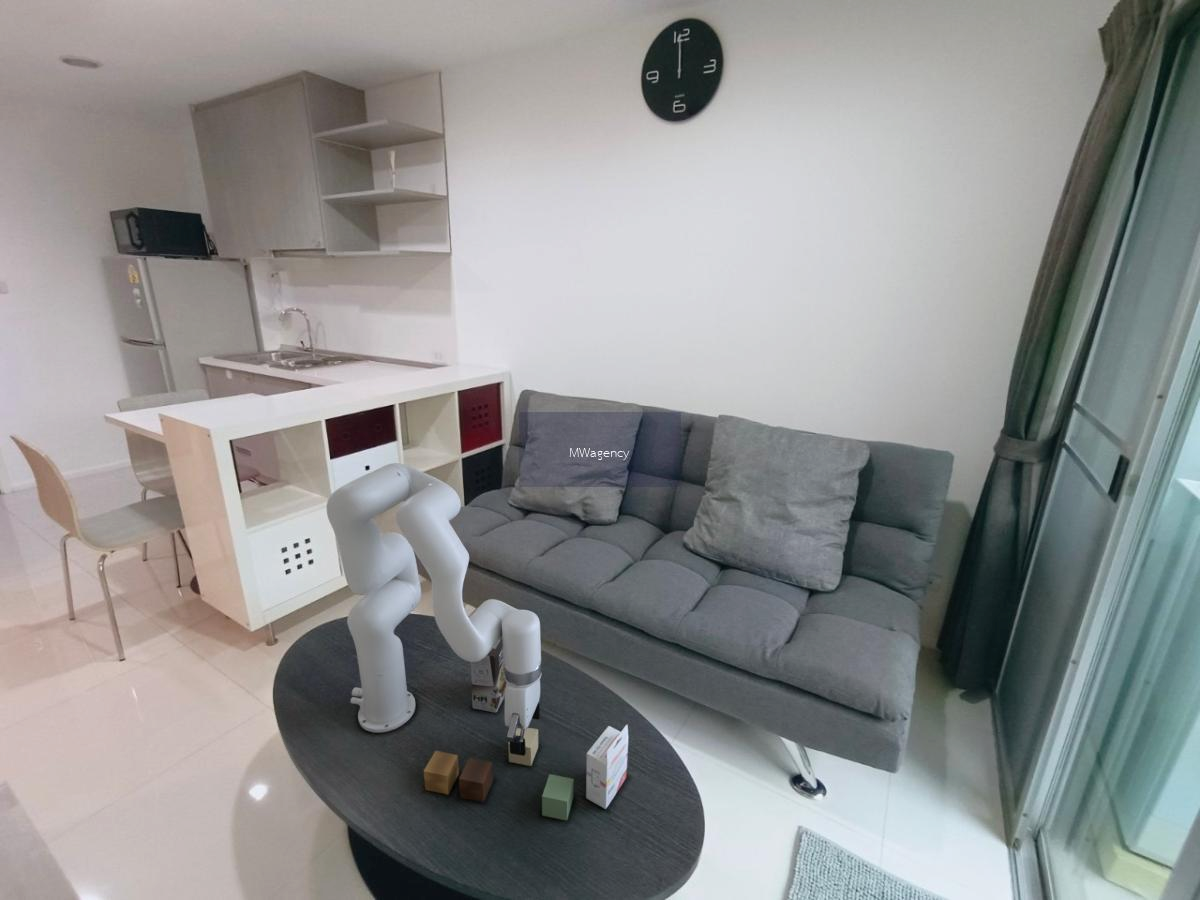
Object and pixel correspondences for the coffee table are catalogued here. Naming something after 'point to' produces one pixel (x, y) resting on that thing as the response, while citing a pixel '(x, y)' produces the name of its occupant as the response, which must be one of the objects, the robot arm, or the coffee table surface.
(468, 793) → the walnut block
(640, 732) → the coffee table surface
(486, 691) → the coffee box
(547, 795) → the sage block
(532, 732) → the cream block
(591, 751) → the ink cartridge box
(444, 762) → the honey block
